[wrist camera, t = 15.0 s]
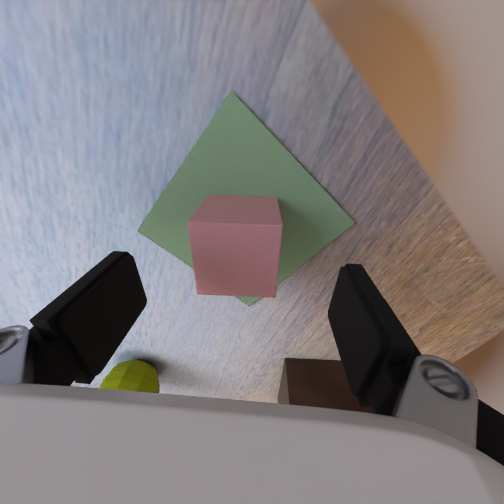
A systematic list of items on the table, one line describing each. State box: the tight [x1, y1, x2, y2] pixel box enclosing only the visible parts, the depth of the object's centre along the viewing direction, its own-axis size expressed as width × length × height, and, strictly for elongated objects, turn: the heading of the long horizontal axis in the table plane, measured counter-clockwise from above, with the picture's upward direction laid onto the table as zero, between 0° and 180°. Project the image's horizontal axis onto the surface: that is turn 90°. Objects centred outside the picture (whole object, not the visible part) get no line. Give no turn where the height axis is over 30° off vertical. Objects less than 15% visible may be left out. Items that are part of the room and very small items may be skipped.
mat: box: [137, 91, 355, 306], centre depth 17 cm, size 12×12×1 cm
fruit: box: [99, 360, 160, 393], centre depth 22 cm, size 6×6×12 cm
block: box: [187, 194, 283, 298], centre depth 14 cm, size 5×5×5 cm
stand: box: [278, 358, 374, 414], centre depth 23 cm, size 10×10×12 cm
